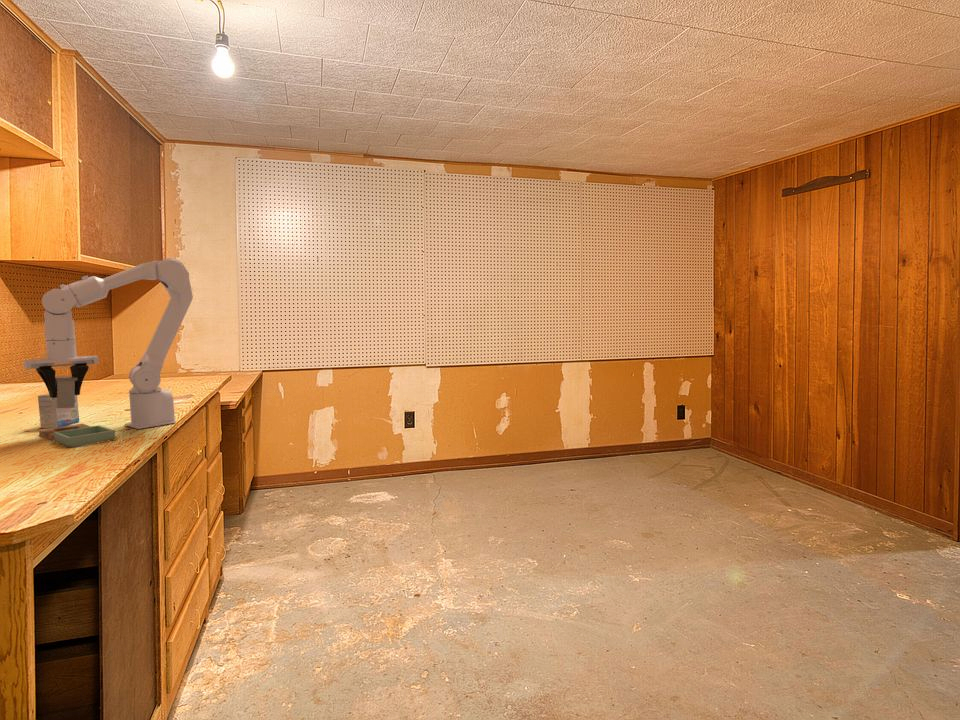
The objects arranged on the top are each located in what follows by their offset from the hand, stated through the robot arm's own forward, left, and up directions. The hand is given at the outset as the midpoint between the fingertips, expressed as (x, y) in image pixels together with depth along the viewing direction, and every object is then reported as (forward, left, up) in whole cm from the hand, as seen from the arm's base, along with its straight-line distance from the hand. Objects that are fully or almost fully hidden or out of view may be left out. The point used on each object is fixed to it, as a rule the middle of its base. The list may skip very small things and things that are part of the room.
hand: (65, 396), depth 134 cm
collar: (0, 0, -9) cm, 9 cm away
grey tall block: (+1, 0, -3) cm, 3 cm away
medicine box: (-2, -13, -10) cm, 16 cm away
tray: (0, +11, -9) cm, 14 cm away
